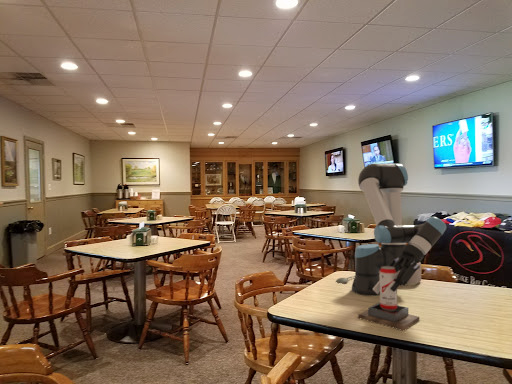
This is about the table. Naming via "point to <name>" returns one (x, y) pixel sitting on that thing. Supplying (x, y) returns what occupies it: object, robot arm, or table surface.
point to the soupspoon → (343, 280)
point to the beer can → (385, 280)
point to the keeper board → (401, 324)
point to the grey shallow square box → (388, 313)
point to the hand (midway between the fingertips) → (380, 293)
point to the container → (414, 276)
